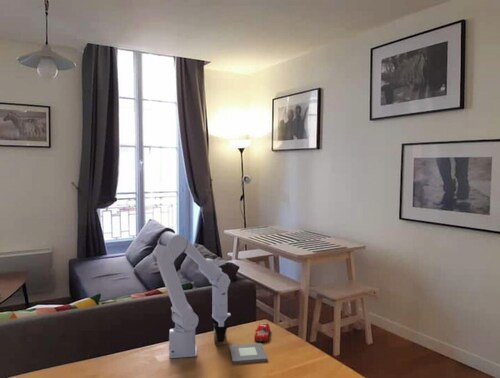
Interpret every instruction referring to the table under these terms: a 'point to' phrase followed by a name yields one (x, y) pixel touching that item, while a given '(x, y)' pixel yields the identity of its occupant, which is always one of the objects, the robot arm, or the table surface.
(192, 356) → the robot arm
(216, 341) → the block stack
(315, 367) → the table surface
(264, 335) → the race car
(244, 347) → the base plate
